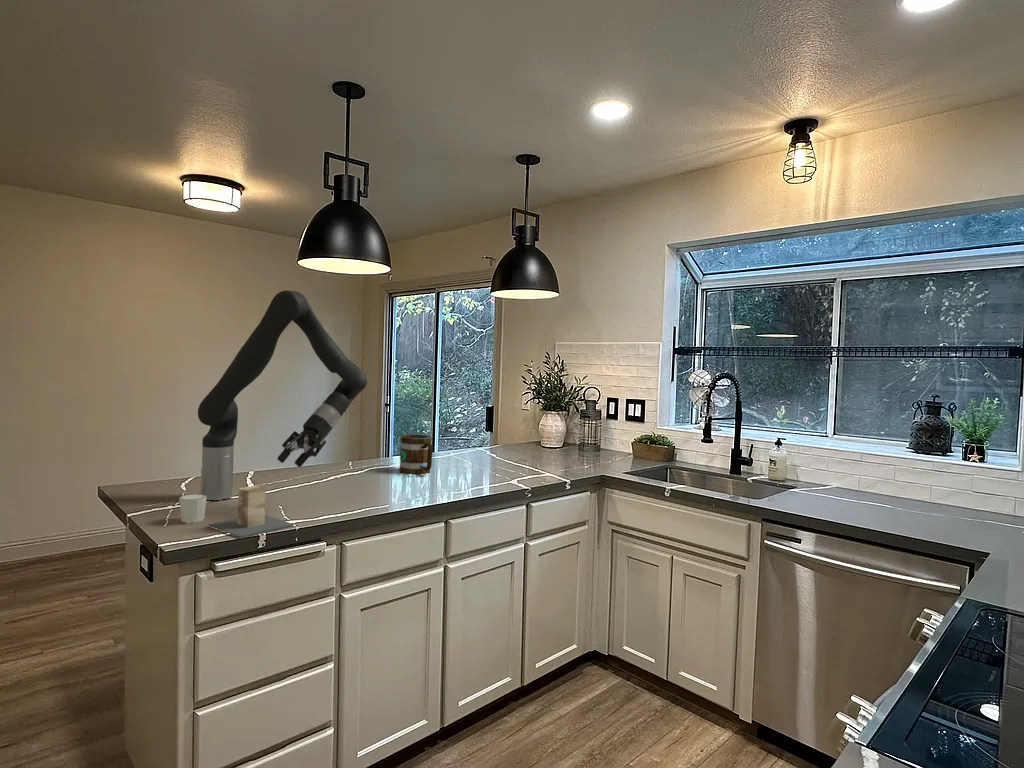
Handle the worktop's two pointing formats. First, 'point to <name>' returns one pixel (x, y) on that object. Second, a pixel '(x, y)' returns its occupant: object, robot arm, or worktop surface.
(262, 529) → the slate mat
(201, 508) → the white tapered cup
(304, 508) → the worktop surface
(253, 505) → the birch block
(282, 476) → the worktop surface
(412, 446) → the mug
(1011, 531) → the worktop surface
